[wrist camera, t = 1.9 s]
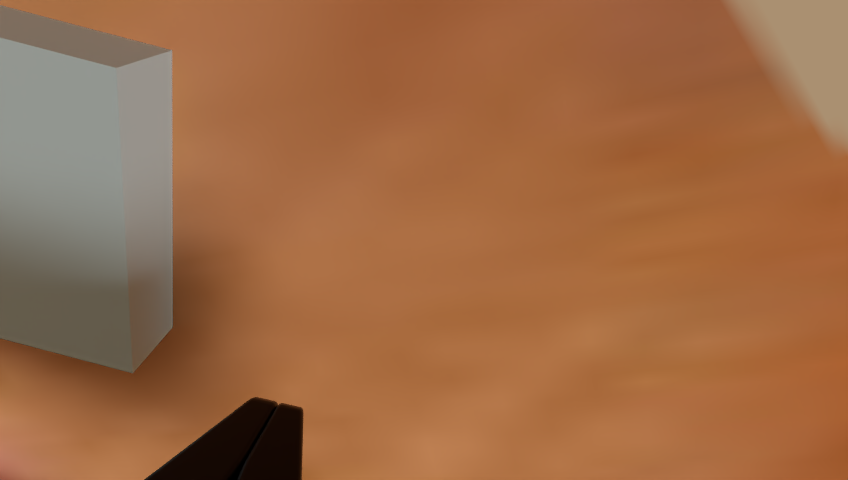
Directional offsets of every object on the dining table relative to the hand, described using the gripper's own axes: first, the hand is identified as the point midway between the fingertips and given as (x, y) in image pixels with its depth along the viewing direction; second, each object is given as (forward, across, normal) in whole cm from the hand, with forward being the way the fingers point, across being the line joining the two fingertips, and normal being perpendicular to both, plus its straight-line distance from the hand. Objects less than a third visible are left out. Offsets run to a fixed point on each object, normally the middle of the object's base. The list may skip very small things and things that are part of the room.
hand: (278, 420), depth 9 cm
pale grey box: (+6, +8, 0) cm, 10 cm away
